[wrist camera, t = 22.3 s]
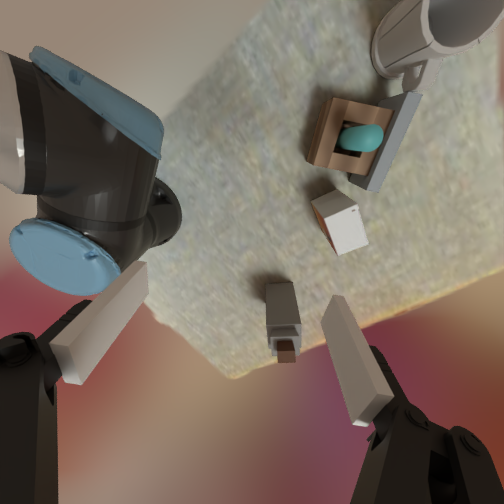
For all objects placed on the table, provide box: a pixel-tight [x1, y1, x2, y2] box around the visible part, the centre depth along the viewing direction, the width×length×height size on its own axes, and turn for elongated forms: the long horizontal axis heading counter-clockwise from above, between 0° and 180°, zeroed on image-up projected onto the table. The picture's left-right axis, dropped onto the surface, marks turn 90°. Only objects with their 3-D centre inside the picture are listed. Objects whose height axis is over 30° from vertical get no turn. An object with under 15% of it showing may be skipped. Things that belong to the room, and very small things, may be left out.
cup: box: [371, 0, 504, 92], centre depth 27 cm, size 10×9×12 cm
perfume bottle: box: [266, 282, 301, 363], centre depth 47 cm, size 7×7×18 cm
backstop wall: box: [349, 92, 423, 193], centre depth 35 cm, size 2×13×8 cm, turn 170°
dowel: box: [335, 124, 383, 152], centre depth 31 cm, size 3×3×12 cm
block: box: [307, 98, 395, 176], centre depth 35 cm, size 9×9×6 cm
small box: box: [311, 189, 369, 256], centre depth 40 cm, size 8×6×10 cm
